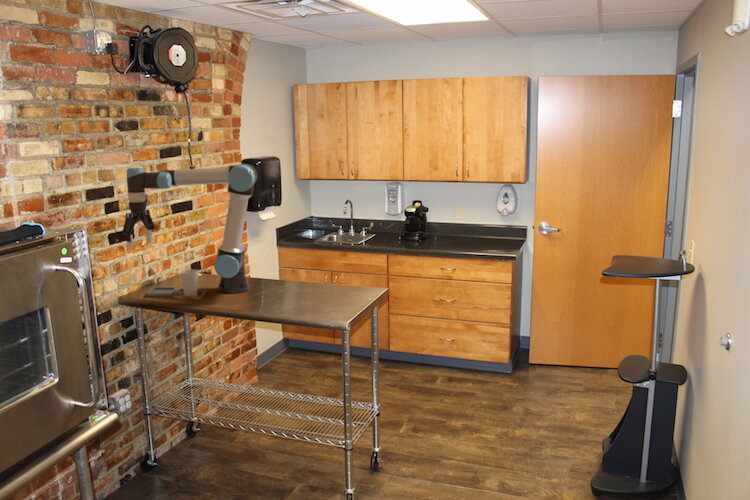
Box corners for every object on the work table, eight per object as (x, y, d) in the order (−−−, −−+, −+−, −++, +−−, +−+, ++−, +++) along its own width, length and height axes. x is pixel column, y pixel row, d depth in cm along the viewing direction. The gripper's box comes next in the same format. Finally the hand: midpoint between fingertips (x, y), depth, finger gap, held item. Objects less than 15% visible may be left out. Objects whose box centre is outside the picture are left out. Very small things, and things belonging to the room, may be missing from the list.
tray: (178, 290, 306) (177, 287, 306) (172, 297, 294) (172, 293, 294) (153, 290, 305) (153, 286, 305) (146, 297, 293) (146, 293, 293)
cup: (194, 298, 294) (193, 273, 291) (179, 296, 295) (178, 272, 293) (202, 293, 301) (201, 270, 299) (187, 292, 303) (186, 269, 301)
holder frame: (207, 291, 306) (207, 288, 305) (202, 299, 292) (202, 296, 292) (179, 291, 304) (179, 288, 304) (173, 299, 291) (172, 296, 291)
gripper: (147, 197, 298) (150, 240, 303) (111, 204, 275) (115, 250, 279) (160, 198, 296) (163, 241, 300) (125, 204, 273) (128, 251, 277)
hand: (140, 245), depth 290 cm, fingers open, 13 cm apart
